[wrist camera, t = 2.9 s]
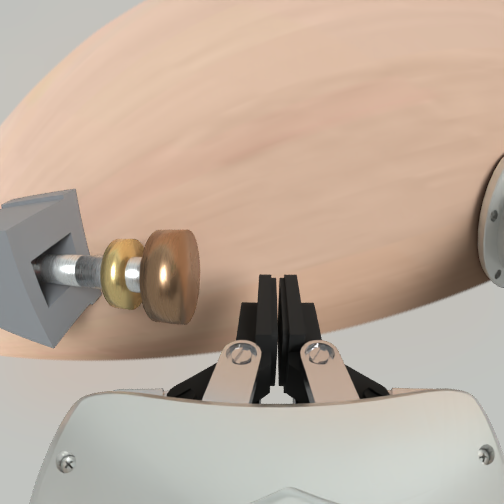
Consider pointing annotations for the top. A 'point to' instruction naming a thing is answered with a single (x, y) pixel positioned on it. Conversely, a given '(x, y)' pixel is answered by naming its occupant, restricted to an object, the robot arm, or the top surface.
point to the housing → (22, 273)
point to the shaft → (136, 274)
